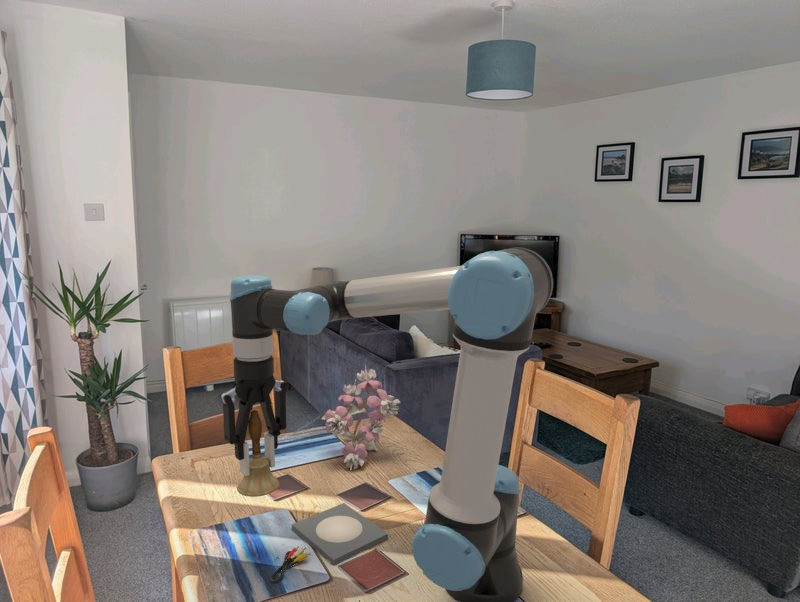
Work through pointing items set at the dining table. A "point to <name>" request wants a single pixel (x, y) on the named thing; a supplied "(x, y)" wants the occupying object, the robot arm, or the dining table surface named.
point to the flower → (360, 417)
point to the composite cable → (289, 562)
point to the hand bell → (257, 465)
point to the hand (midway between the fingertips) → (257, 468)
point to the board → (339, 533)
